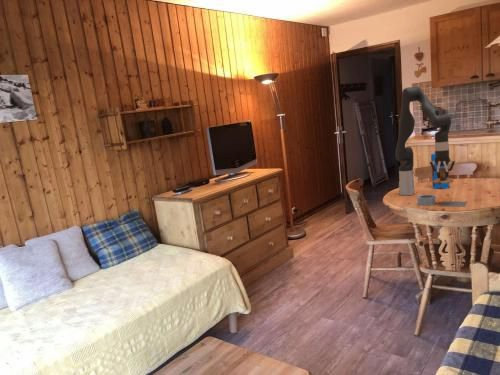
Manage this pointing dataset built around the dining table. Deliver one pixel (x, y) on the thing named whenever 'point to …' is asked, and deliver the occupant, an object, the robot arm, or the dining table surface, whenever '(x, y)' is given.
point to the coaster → (453, 204)
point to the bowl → (426, 200)
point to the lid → (442, 177)
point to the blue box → (434, 176)
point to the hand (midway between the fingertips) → (442, 177)
